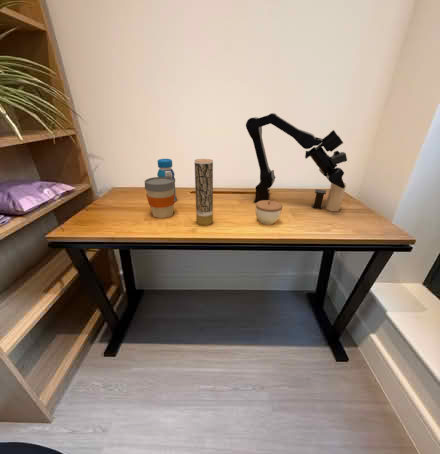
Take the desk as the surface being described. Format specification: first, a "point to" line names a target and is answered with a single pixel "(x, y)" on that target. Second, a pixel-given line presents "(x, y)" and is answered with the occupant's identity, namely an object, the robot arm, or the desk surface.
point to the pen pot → (335, 197)
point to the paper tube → (204, 191)
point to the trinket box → (268, 211)
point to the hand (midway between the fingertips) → (340, 184)
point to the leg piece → (319, 198)
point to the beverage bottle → (166, 170)
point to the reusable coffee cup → (160, 196)
